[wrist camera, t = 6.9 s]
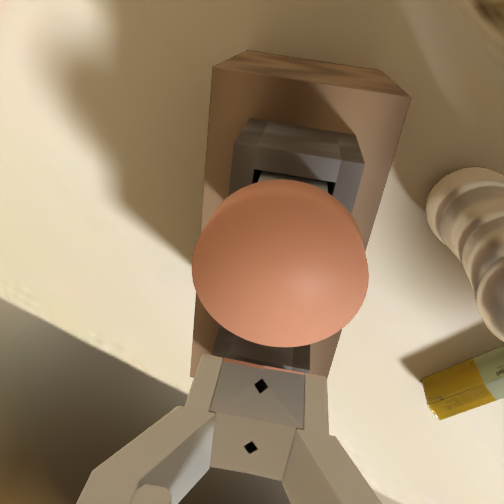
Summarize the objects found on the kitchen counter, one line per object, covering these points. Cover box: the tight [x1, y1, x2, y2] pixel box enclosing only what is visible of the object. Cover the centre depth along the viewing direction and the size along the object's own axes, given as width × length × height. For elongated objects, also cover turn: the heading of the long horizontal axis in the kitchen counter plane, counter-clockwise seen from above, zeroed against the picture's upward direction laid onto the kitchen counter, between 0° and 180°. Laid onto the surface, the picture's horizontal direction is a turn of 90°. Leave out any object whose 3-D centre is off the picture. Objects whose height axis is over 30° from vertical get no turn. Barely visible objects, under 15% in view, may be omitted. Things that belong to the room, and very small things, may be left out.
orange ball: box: [192, 171, 369, 347], centre depth 17 cm, size 6×6×6 cm
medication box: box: [420, 346, 504, 420], centre depth 41 cm, size 12×3×4 cm, turn 130°
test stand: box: [190, 50, 411, 379], centre depth 30 cm, size 10×22×17 cm, turn 173°
